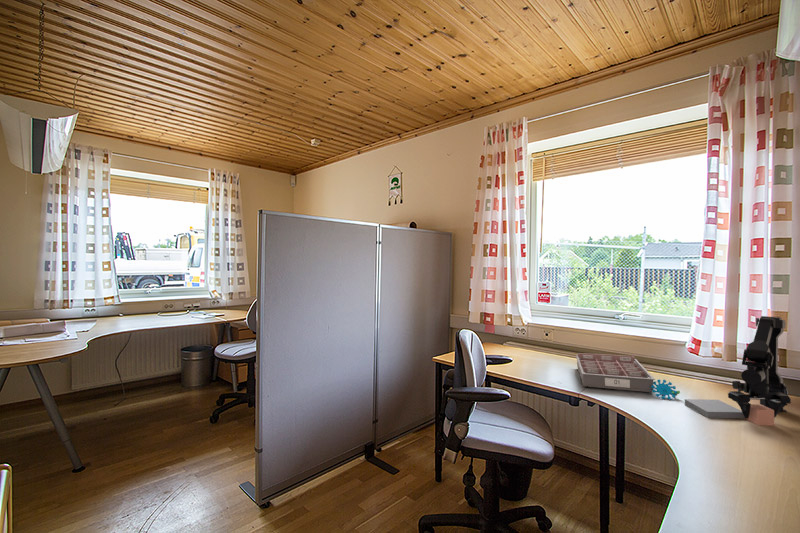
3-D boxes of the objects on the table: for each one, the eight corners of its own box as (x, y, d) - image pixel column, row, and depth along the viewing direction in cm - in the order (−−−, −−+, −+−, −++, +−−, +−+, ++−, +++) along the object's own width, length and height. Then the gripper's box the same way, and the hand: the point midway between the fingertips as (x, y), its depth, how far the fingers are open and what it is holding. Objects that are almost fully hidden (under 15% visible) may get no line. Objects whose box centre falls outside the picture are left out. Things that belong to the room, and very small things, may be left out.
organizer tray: (581, 389, 188) (581, 369, 188) (575, 368, 225) (575, 352, 225) (655, 396, 176) (655, 375, 176) (636, 372, 213) (636, 355, 213)
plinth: (718, 405, 163) (718, 399, 163) (744, 418, 149) (744, 412, 149) (684, 404, 164) (684, 399, 164) (707, 417, 150) (707, 411, 150)
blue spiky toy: (650, 394, 174) (652, 376, 179) (649, 400, 177) (651, 382, 183) (679, 402, 167) (680, 382, 173) (677, 407, 171) (678, 388, 176)
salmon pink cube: (761, 419, 148) (760, 404, 148) (774, 425, 142) (774, 410, 142) (744, 418, 149) (744, 404, 149) (757, 425, 143) (757, 409, 143)
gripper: (766, 373, 152) (767, 411, 153) (717, 373, 155) (718, 410, 155) (791, 382, 141) (792, 422, 141) (738, 381, 143) (739, 421, 143)
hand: (759, 418), depth 146 cm, fingers open, 9 cm apart
